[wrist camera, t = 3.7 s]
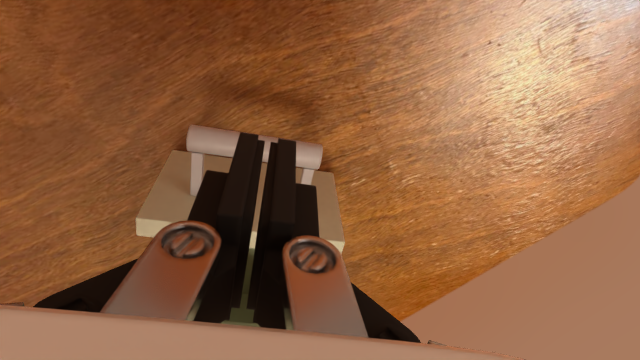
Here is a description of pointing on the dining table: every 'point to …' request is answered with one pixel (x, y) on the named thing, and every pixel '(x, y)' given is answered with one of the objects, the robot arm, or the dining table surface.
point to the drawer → (189, 169)
